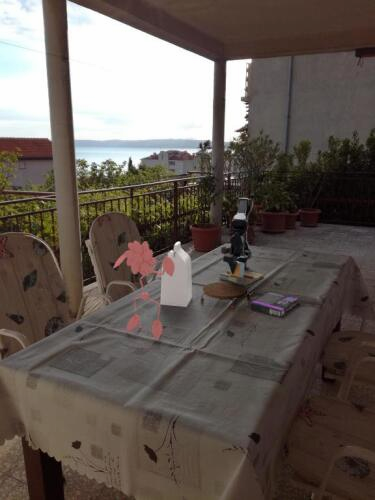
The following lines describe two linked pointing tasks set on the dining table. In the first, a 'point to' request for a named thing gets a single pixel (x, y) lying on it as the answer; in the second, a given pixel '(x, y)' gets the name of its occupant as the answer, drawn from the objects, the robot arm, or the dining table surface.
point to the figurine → (142, 263)
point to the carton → (239, 270)
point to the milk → (177, 279)
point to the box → (274, 303)
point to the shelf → (247, 279)
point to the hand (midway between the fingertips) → (236, 272)
